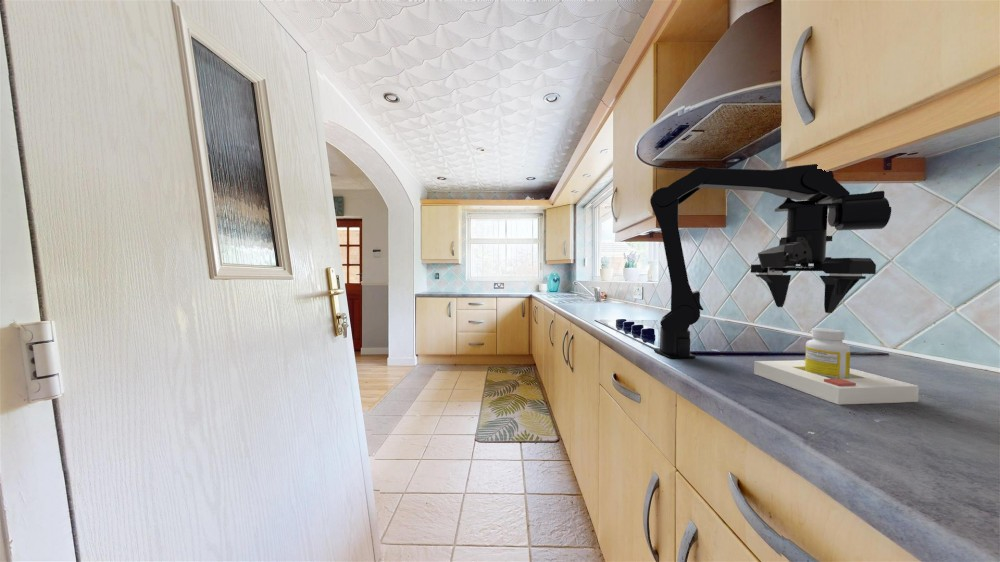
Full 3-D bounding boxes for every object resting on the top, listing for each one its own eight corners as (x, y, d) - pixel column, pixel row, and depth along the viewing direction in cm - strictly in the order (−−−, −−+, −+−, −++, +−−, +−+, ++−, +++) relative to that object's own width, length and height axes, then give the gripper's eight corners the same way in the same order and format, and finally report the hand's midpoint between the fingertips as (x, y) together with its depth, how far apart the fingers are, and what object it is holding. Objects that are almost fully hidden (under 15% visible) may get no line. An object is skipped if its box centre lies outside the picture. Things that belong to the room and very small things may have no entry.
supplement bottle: (827, 380, 57) (830, 327, 57) (858, 391, 52) (861, 333, 52) (796, 378, 58) (798, 326, 58) (823, 389, 52) (826, 332, 52)
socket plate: (754, 373, 61) (754, 359, 61) (817, 372, 62) (818, 358, 62) (838, 404, 47) (839, 385, 47) (917, 401, 49) (919, 383, 48)
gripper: (729, 236, 71) (727, 304, 71) (822, 224, 52) (818, 316, 53) (774, 237, 72) (771, 304, 72) (881, 225, 53) (876, 316, 54)
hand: (802, 309), depth 63 cm, fingers open, 9 cm apart
